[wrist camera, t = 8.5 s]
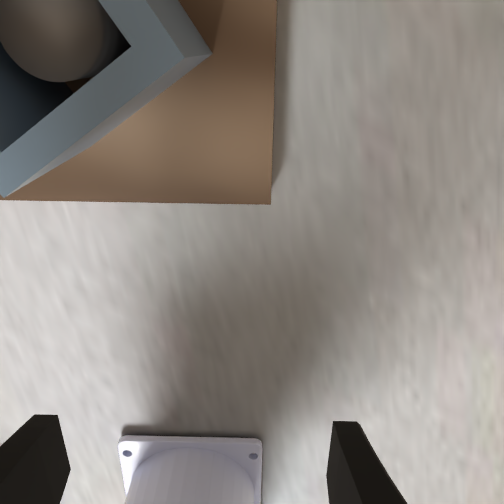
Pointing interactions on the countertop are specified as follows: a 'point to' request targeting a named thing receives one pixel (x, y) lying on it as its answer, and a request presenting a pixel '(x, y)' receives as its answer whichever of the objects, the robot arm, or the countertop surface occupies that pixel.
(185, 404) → the countertop surface
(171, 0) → the duct sleeve
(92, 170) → the base
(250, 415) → the countertop surface
